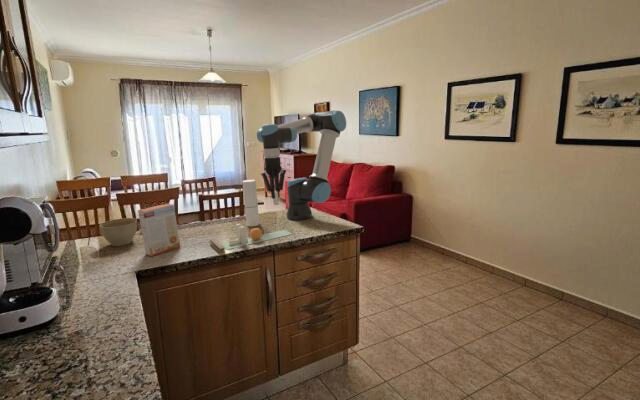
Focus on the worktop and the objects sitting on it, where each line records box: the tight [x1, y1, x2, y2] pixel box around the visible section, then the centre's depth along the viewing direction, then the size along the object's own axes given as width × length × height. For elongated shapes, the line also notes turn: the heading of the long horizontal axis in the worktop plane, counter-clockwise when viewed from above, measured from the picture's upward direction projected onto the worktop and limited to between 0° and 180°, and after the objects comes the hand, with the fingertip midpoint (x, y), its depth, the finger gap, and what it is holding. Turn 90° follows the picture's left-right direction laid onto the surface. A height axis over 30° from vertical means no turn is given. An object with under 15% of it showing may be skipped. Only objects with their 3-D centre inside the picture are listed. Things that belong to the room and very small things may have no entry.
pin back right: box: [235, 223, 242, 239], centre depth 165 cm, size 2×2×8 cm
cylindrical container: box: [242, 179, 260, 227], centre depth 191 cm, size 7×7×25 cm
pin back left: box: [239, 225, 247, 246], centre depth 161 cm, size 2×2×8 cm
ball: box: [249, 227, 263, 240], centre depth 167 cm, size 6×6×6 cm
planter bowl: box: [99, 217, 138, 247], centre depth 171 cm, size 16×16×11 cm
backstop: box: [209, 238, 226, 254], centre depth 158 cm, size 2×16×2 cm, turn 33°
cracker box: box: [137, 203, 181, 257], centre depth 156 cm, size 14×6×21 cm, turn 141°
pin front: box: [229, 236, 249, 246], centre depth 163 cm, size 2×2×8 cm
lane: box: [220, 229, 293, 250], centre depth 168 cm, size 34×9×1 cm, turn 123°
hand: (276, 204), depth 171 cm, fingers closed
